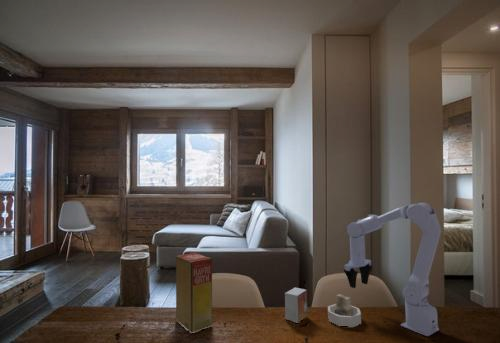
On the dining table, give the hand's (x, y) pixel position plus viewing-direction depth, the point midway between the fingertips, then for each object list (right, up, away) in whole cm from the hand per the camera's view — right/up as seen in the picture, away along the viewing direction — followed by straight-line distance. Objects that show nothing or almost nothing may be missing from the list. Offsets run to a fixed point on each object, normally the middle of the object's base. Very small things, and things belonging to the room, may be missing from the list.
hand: (358, 285), depth 122 cm
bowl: (-9, -10, -9) cm, 16 cm away
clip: (-9, -10, -9) cm, 16 cm away
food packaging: (-65, -11, -10) cm, 67 cm away
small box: (-26, -10, -7) cm, 29 cm away
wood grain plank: (-9, -9, -9) cm, 15 cm away
